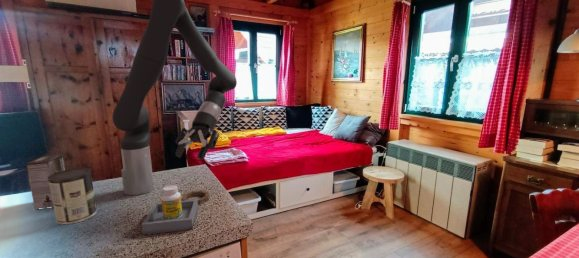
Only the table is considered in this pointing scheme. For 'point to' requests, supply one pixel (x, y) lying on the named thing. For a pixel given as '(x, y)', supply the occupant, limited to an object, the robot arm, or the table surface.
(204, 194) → the holder ring
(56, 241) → the table surface
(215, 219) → the table surface
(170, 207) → the supplement bottle
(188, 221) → the tray
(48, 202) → the coffee box
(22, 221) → the table surface
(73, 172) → the coffee can
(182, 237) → the table surface
